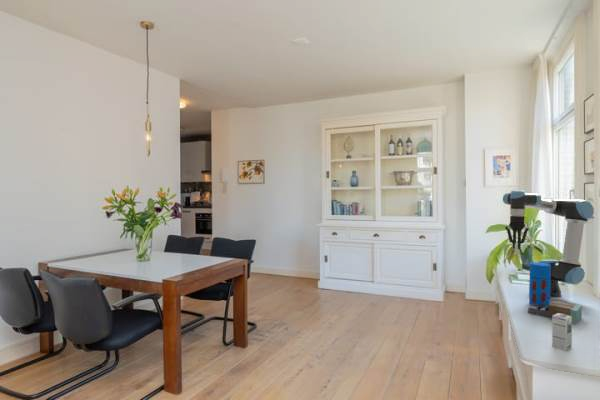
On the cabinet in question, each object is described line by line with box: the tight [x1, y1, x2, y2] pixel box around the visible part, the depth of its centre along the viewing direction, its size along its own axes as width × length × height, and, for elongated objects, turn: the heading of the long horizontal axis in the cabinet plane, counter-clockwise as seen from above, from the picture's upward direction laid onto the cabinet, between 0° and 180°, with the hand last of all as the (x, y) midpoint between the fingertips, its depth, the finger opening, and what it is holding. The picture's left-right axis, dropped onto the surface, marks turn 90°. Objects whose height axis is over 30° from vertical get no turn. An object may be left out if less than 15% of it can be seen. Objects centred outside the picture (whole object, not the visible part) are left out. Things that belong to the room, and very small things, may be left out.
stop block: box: [571, 304, 583, 325], centre depth 198 cm, size 13×3×7 cm, turn 133°
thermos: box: [528, 261, 551, 306], centre depth 225 cm, size 11×11×25 cm
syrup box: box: [551, 313, 573, 352], centre depth 164 cm, size 6×6×14 cm
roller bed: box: [527, 304, 555, 319], centre depth 206 cm, size 11×20×3 cm, turn 43°
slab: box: [548, 300, 576, 316], centre depth 202 cm, size 12×10×4 cm
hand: (516, 254), depth 224 cm, fingers closed
